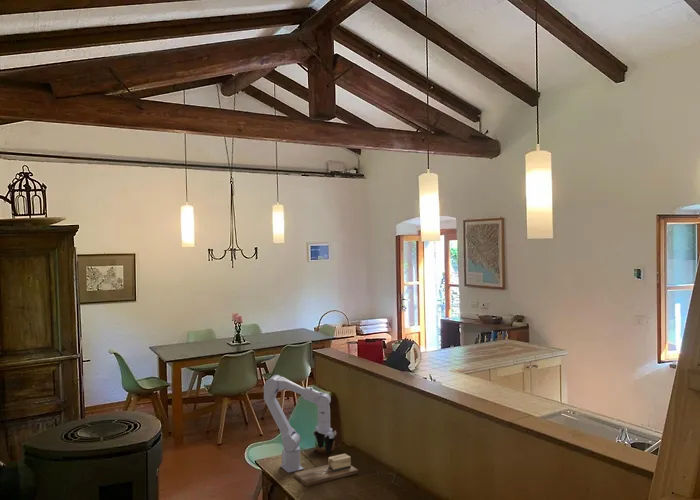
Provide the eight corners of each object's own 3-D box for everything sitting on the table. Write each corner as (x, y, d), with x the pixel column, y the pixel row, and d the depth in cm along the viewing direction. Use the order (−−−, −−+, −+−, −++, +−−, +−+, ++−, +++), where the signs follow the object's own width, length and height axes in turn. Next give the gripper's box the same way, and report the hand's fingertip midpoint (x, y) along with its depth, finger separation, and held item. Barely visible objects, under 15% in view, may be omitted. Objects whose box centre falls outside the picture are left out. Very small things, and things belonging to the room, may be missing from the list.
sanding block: (328, 468, 250) (328, 457, 251) (345, 464, 255) (345, 453, 255) (333, 471, 246) (333, 460, 246) (350, 467, 251) (350, 456, 251)
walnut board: (294, 476, 246) (294, 472, 246) (343, 464, 259) (343, 460, 259) (306, 486, 235) (306, 482, 235) (358, 473, 248) (358, 469, 248)
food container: (310, 452, 275) (310, 433, 275) (313, 448, 281) (313, 429, 281) (334, 453, 273) (334, 433, 273) (336, 449, 279) (336, 430, 279)
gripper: (339, 422, 248) (339, 452, 248) (324, 415, 261) (325, 443, 261) (325, 425, 245) (326, 455, 245) (311, 417, 257) (311, 446, 257)
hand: (324, 449), depth 253 cm, fingers open, 7 cm apart
